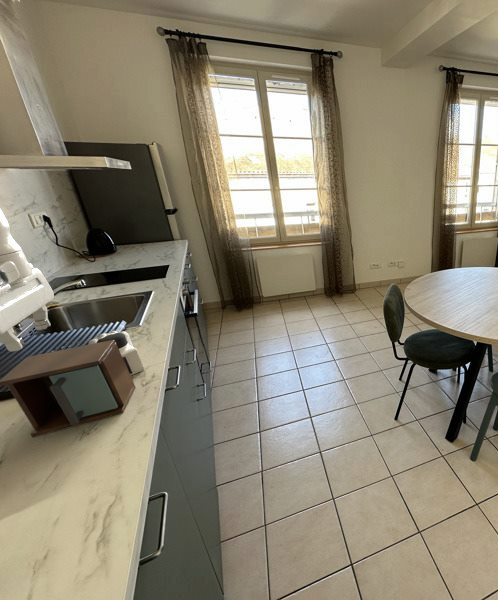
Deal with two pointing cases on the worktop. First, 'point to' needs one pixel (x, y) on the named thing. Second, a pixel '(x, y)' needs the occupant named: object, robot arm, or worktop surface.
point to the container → (125, 352)
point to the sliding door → (82, 393)
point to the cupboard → (36, 370)
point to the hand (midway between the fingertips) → (31, 338)
